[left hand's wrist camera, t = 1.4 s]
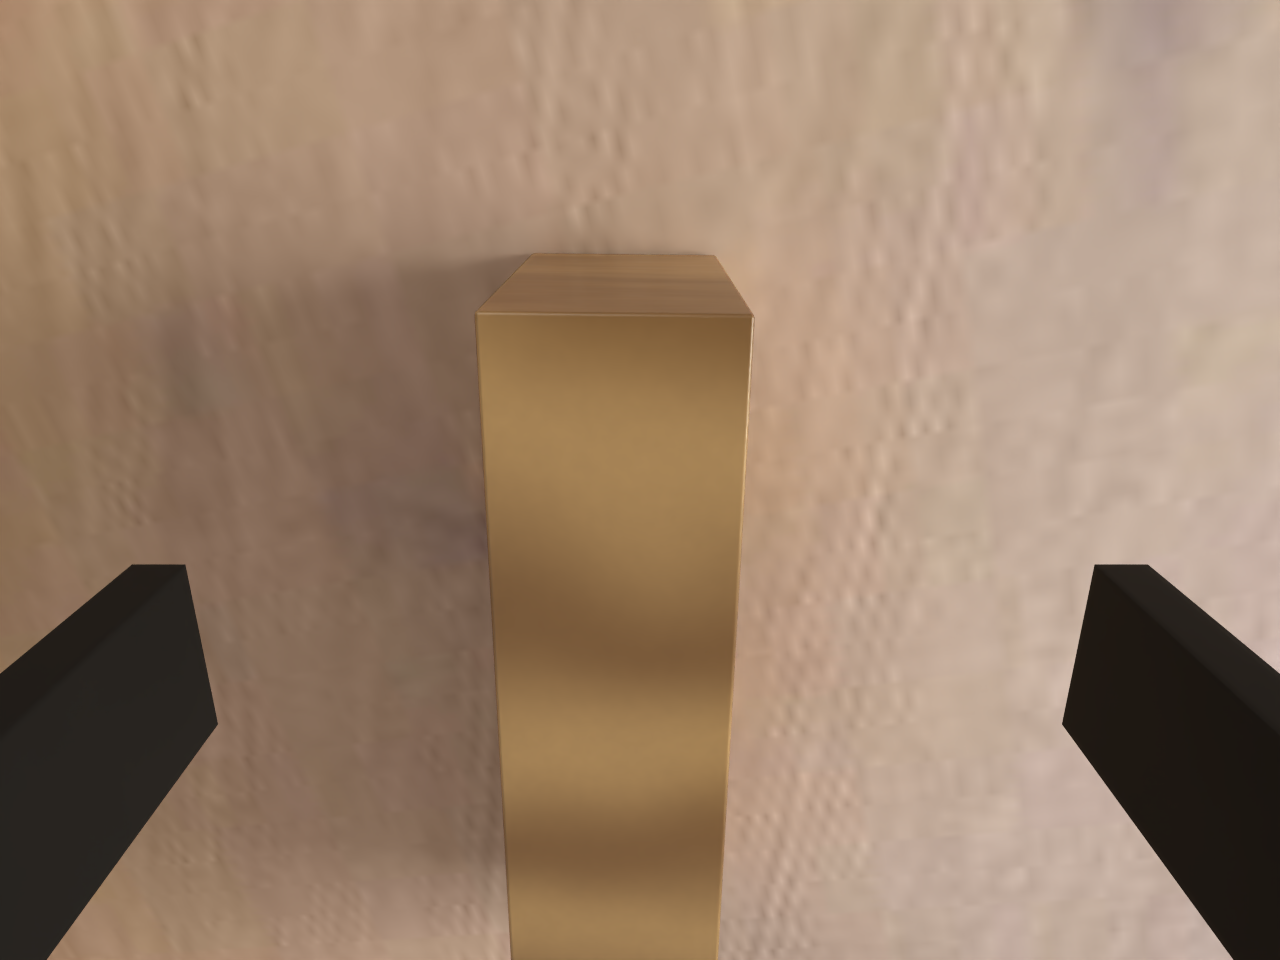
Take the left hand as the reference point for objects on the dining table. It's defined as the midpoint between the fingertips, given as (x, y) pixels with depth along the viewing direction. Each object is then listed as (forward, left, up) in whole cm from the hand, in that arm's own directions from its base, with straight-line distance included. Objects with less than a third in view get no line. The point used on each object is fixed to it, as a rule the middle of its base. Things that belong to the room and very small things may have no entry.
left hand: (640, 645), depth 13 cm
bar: (+7, +1, -14) cm, 15 cm away
